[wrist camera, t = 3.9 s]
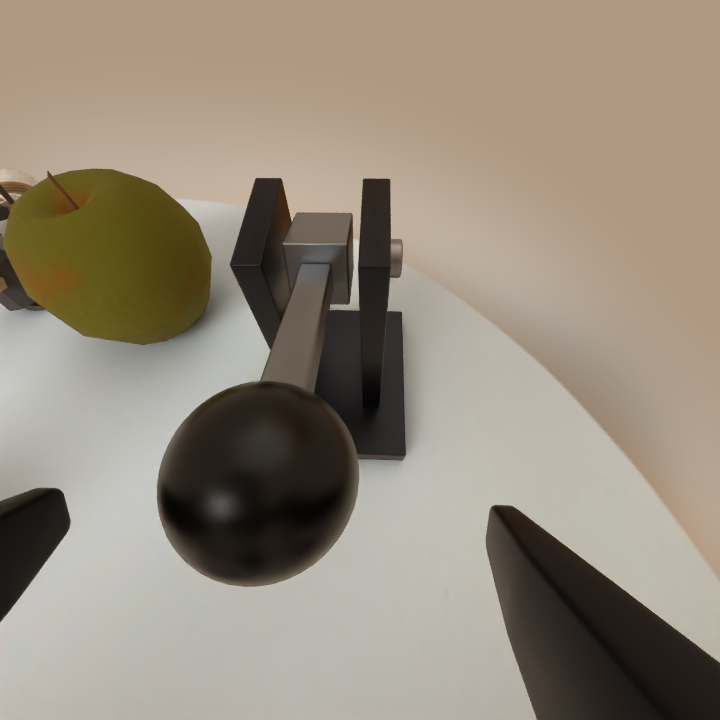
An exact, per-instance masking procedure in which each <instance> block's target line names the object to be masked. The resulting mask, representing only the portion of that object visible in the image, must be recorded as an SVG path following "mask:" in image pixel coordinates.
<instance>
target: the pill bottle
mask: <svg viewBox="0 0 720 720" xmlns="http://www.w3.org/2000/svg"><path fill="white" fill-rule="evenodd" d="M38 183H39V182H38V181H37V180H36V179H34V177H32V176H30V175H29V174H27V173H25V172H22V171H19V170H16V169H1V170H0V184H1V185H2V187H3V188H4V189H5V190H6V191H7V193H8V194H9V195H10V196H11V197H12V198H14V199H18V198H19V197H20V196H22V195H23V194H24V193H25V192H26V191H27V190H28V189H30V188H32V187H33V186H35V185H36V184H38ZM5 201H7V200H6V199H5V198H4V197H3V196H2V195H1V194H0V204H1V203H3V202H5ZM1 205H2V204H1ZM7 220H8V219H6V220H3V221H0V233H1V234H2V237H4V235H5V230H6V225H7Z"/></svg>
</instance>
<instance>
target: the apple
mask: <svg viewBox="0 0 720 720" xmlns="http://www.w3.org/2000/svg"><path fill="white" fill-rule="evenodd" d="M2 245H3V247H4V249H5V251H6V254H7V256H8V258H9V261H10V263H11V265H12V267H13V269H14V271H15V273H16V274H17V276H18V278H19V280H20V282H21V284H22V286H23V288H24V290H25V292H26V294H27V296H28V297H30V298H31V299H32V300H34V301H35V302H36V303H38V304H39V305H41V306H42V307H43V308H45V309H46V310H47V311H49V312H50V313H52V314H53V315H54V316H56V317H57V318H59V319H60V320H62V321H63V322H65V323H66V324H67V325H69V326H70V327H72V328H73V329H75V330H76V331H78V332H79V333H81V334H82V335H83V336H87V337H94V338H101V339H107V340H114V341H121V342H127V343H134V344H141V345H145V344H151V343H157V342H162V341H166V340H168V339H170V338H172V337H174V336H175V335H177V334H179V333H181V332H183V331H185V330H186V329H187V328H188V327H189V326H190V325H192V324H193V323H194V322H195V321H196V320H197V319H198V318H199V317H200V316H201V315H202V313H203V311H204V309H205V307H206V305H207V303H208V301H209V295H210V281H211V259H212V256H211V253H210V251H209V248H208V246H207V243H206V241H205V238H204V236H203V233H202V231H201V228H200V226H199V223H198V222H197V221H196V220H195V219H194V218H193V217H192V216H191V215H190V214H189V213H188V212H187V210H186V209H185V208H184V207H183V206H181V205H180V204H179V203H178V202H177V201H175V200H174V199H173V198H172V197H171V196H169V195H168V194H167V193H166V192H165V191H163V190H162V189H161V188H160V187H159V186H157V185H156V184H153V183H151V182H148V181H146V180H143V179H141V178H138V177H135V176H132V175H129V174H125V173H122V172H119V171H115V170H112V169H87V170H76V171H69V172H66V173H62V174H58V175H55V176H52V175H51V174H50V173H49V172H48V178H46V179H44V180H43V181H41V182H40V183H38V184H36V185H35V186H33V187H32V188H30V189H28V190H27V191H26V192H25V193H24V194H23V195H22V196H20V197H19V198H18V199H17V200H16V201H15V202H14V203H13V205H12V208H11V211H10V214H9V216H8V220H7V225H6V230H5V235H4V240H3V244H2Z"/></svg>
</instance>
